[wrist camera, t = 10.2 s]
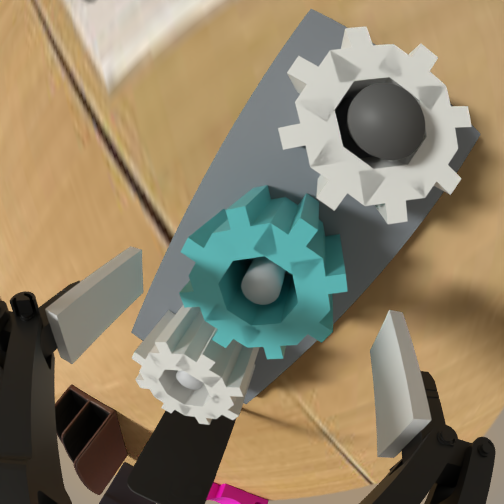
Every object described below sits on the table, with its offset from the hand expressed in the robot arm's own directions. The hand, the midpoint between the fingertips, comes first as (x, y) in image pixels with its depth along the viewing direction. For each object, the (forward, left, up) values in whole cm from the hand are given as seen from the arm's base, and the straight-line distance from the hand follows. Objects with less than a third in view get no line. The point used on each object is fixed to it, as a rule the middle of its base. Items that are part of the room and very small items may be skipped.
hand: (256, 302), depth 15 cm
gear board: (0, 0, -8) cm, 8 cm away
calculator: (+66, +7, -9) cm, 67 cm away
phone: (+20, +4, -9) cm, 22 cm away
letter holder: (+50, -7, -9) cm, 51 cm away
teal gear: (0, 0, -7) cm, 7 cm away
